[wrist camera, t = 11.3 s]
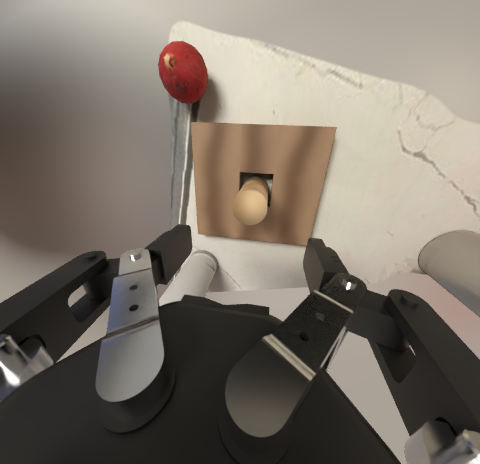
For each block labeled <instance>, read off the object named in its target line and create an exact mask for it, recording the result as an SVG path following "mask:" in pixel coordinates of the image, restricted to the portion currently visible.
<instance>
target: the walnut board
mask: <svg viewBox="0 0 480 464" xmlns="http://www.w3.org/2000/svg"><path fill="white" fill-rule="evenodd" d="M336 129H337V127H317V126H288V125H259V124H231V123H202V122H191V131H192V147H193V162H194V178H195V193H196V209H197V225H198V234H202V235H212V236H221V237H230V238H239V239H248V240H258V241H267V242H276V243H285V244H295V245H304V246H307V242H308V239H309V238H310V237H311V233H312V229H313V225H314V220H315V216H316V212H317V208H318V204H319V199H320V195H321V191H322V187H323V183H324V179H325V174H326V170H327V166H328V162H329V158H330V154H331V149H332V145H333V141H334V137H335V133H336ZM242 172H249V173H264V174H273V181H272V189H271V197H270V203H267V213H266V216H265V218H264V219H263V220H262V221H261V222H259V223H258V224H255V225H245V224H242V223H240V222H239V221H238V220H237V219H236V218H235V217H234V215H233V212H232V203H233V200H234V199H235V197H236V196H237V194H238V193H239V191H240V190H241V182H242Z"/></svg>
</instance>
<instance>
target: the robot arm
mask: <svg viewBox="0 0 480 464" xmlns="http://www.w3.org/2000/svg"><path fill="white" fill-rule="evenodd" d="M191 251H192V238H191V228H190V226H189V225H180V224H178V225H177V226H176V227H174V228H173V229H172V230H170V231H168V232H165V233H163V234H162V235H161V236H159V238H157V239H156V240H155V241H153V242H152V243H151V244H149V245H148V246H147V247H146V248H145V249H133V250H130V251H127V252H125V253H124V254H122V256H121V257H120V258H117V259H107V256H106V253H105V252H103V251H91V252H87V253H84V254H81V255H79V256H77V257H76V258H74V259H72V260H71V261H69V262H68V263H66V264H64V265H63V266H61V267H59V268H58V269H56V270H54V271H53V272H51V273H49V274H48V275H46V276H44V277H43V278H41V279H40V280H38V281H36V282H35V283H33V284H31V285H30V286H28V287H26V288H25V289H23V290H21V291H20V292H18V293H16V294H15V295H13V296H12V297H10V298H8V299H7V300H5V301H3V302H2V303H0V464H401V463H400V462H399V460H398V459H397V457H396V456H395V455H394V454H393V452H392V451H391V450H390V448H389V447H388V446H387V445H386V444H385V442H384V441H383V440H382V439H381V437H380V436H379V435H378V434H377V433H376V431H375V430H374V429H373V428H372V426H371V425H370V424H369V423H368V422H367V420H366V419H365V418H364V417H363V416H362V415H361V413H360V412H359V411H358V409H357V408H356V407H355V406H354V405H353V403H352V402H351V401H350V400H349V398H348V397H347V396H346V395H345V394H344V392H343V391H342V390H341V389H340V387H339V386H338V385H337V384H336V383H335V381H333V379H332V378H331V377H330V375H329V374H328V373H327V371H328V369H329V367H330V365H331V362H332V361H333V359H334V357H335V355H336V353H337V351H338V349H339V348H340V346H341V344H342V342H343V340H344V338H345V336H346V335H347V333H348V331H350V332H352V333H355V334H357V335H359V336H362V337H364V338H367V339H368V341H369V343H370V346H371V348H372V350H373V352H374V355H375V357H376V359H377V362H378V364H379V366H380V369H381V371H382V373H383V375H384V378H385V380H386V383H387V385H388V387H389V389H390V392H391V394H392V396H393V399H394V401H395V403H396V406H397V408H398V410H399V412H400V415H401V417H402V419H403V422H404V424H405V426H406V428H407V431H408V433H409V435H410V438H409V439H408V440H407V441H406V443H405V457H406V460H407V464H480V360H479V359H478V357H477V356H476V355H475V354H474V353H473V352H472V351H471V350H470V349H469V348H468V347H467V345H466V344H465V343H464V342H463V341H462V340H461V339H460V338H459V337H458V336H457V335H456V334H455V332H454V331H453V330H452V329H451V328H450V327H449V326H448V325H447V324H446V323H445V322H444V320H443V319H442V318H441V317H440V316H439V315H438V314H437V313H436V312H435V311H434V310H433V308H432V307H431V306H430V305H429V304H428V303H427V302H425V301H424V300H423V299H421V298H420V297H418V296H416V295H414V294H412V293H410V292H407V291H404V290H398V289H394V290H391V291H390V292H389V294H388V296H384V295H381V294H378V293H374V292H372V291H369V290H367V287H366V284H365V283H364V282H363V281H362V280H360V279H359V278H357V277H355V276H353V275H350V274H349V273H348V271H347V269H346V268H345V266H344V265H343V263H342V261H341V260H340V258H339V256H338V255H337V253H336V252H335V251H334V250H333V249H331V248H330V247H326V246H325V244H324V242H323V240H322V239H316V238H309V239H308V242H307V246H306V250H305V255H304V260H303V268H304V272H305V276H306V279H307V283H308V287H309V290H310V295H308V297H307V298H306V299H305V300H304V301H303V302H302V303H301V304H300V305H299V306H298V307H297V308H296V309H295V310H294V311H293V312H292V313H291V314H290V315H289V316H288V317H287V318H286V319H285V320H284V321H281V320H279V319H278V318H276V317H274V316H272V315H269V307H265V306H258V305H251V304H237V305H222V304H220V303H217V302H215V301H212V300H210V299H207V298H205V297H199V296H192V295H185V294H184V296H183V298H182V299H181V301H175V302H170V303H167V304H164V305H161V306H160V303H159V298H158V293H157V287H156V286H157V285H158V284H165V285H167V284H168V282H169V281H170V280H171V278H172V277H173V276H174V274H175V273H176V272H177V271H178V269H179V268H180V267H181V265H182V264H183V263H184V261H185V260H186V259H187V257H188V256H189V255H190V253H191ZM419 266H420V267H421V269H422V270H423V271H424V272H425V273H426V274H428V275H429V276H430V277H431V278H433V279H434V280H435V281H436V282H437V283H439V284H440V285H441V286H442V287H443V288H445V289H446V290H447V291H448V292H449V293H451V294H452V295H453V296H454V297H456V298H457V299H458V300H459V301H461V302H462V303H463V304H464V305H466V306H467V307H468V308H469V309H470V310H472V311H473V312H474V313H475V314H476V315H478V316H479V317H480V234H477V233H475V232H471V231H454V232H449V233H446V234H444V235H441V236H439V237H437V238H435V239H434V240H432V241H431V242H429V243H428V244H427V245H426V246H425V247H424V249H423V250H422V252H421V254H420V256H419ZM81 285H83V287H84V289H85V291H86V294H85V295H84V296H83V297H82V298H80V299H79V300H78V301H77V302H76V303H75V304H73V305H72V306H71V307H69V305H68V298H69V296H70V295H71V294H72V293H73V292H74V291H75V290H76V289H78V288H79V287H80V286H81ZM108 306H110V311H109V319H108V326H107V333H106V336H104V337H102V338H101V339H99V340H97V341H95V342H94V343H91V344H90V345H88V346H86V347H84V348H82V349H81V350H79V351H77V352H75V353H74V354H72V355H70V356H68V357H67V358H64V359H63V360H61V361H59V362H57V361H58V360H59V359H60V358H61V357H62V355H63V354H64V353H65V352H66V351H67V350H68V349H69V348H70V347H71V346H72V345H73V344H74V343H75V342H76V341H77V340H78V338H79V337H80V336H81V335H82V334H83V333H84V332H85V331H86V330H87V329H88V328H89V327H90V326H91V325H92V324H93V323H94V321H95V320H96V319H97V318H98V317H99V316H100V315H101V314H102V313H103V312H104V311H105V310H106V309H107V307H108ZM409 345H411V347H412V349H413V350H414V353H415V355H414V353H413V352H412V350H411V349H410V347H409ZM415 356H416V357H415ZM56 362H57V363H56Z"/></svg>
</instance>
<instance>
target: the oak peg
mask: <svg viewBox="0 0 480 464" xmlns="http://www.w3.org/2000/svg"><path fill="white" fill-rule="evenodd" d="M268 192H269V189H268V185H267V182H266V181H265V180H264V179H263V178H261V177H258V176H254V177H251V178H249V179H248V180H246V181H245V183H244V184H243V187H242V188H241V190H240V191H239V193H238V194H237V196H236V197H235V199H234V200H233V203H232V212H233V215H234V217H235V218H236V219H237V220H238V221H239V222H240V223H242V224H245V225H255V224H258V223H259V222H261V221H262V220H263V219H264V218H265V216H266V213H267V203H268Z"/></svg>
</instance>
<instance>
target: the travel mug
mask: <svg viewBox="0 0 480 464" xmlns="http://www.w3.org/2000/svg"><path fill="white" fill-rule="evenodd" d="M217 267H218V263H217V260H216V258H215V257H214V256H213V255H212V254H211V253H209V252H206V251H196V252H194V253H193V254H192V255H191V257H190V258H189V259H188V261H187V262H186V263H185V265H184V266H183V268H182V269H181V270H180V272H179V273H178V275H177V276H176V277H175V279H174V280H173V282H172V283H171V284H170V286H169V287H168V289H167V290H166V291H165V293H164V294H163V296H162V297H161V298H160V300H159V303H160V306H161V305H164V304H167V303H170V302H175V301H181V299H182V298H183V296H184V294H185V295H192V296H199V297H205V295H206V293H207V290H208V288H209V286H210V283H211V281H212V279H213V277H214V274H215V272H216V270H217Z"/></svg>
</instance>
